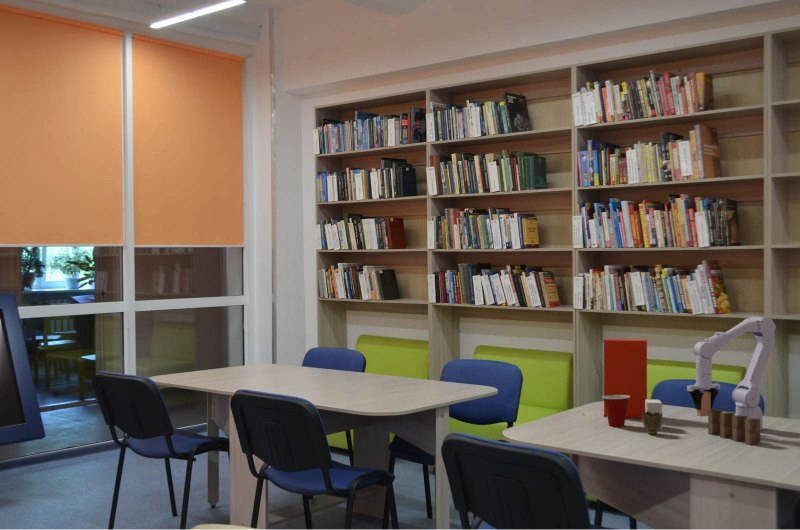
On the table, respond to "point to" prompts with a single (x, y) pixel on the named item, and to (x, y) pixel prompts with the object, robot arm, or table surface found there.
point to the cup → (652, 422)
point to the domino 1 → (705, 404)
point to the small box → (653, 407)
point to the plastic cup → (616, 409)
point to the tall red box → (626, 373)
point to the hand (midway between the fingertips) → (703, 408)
